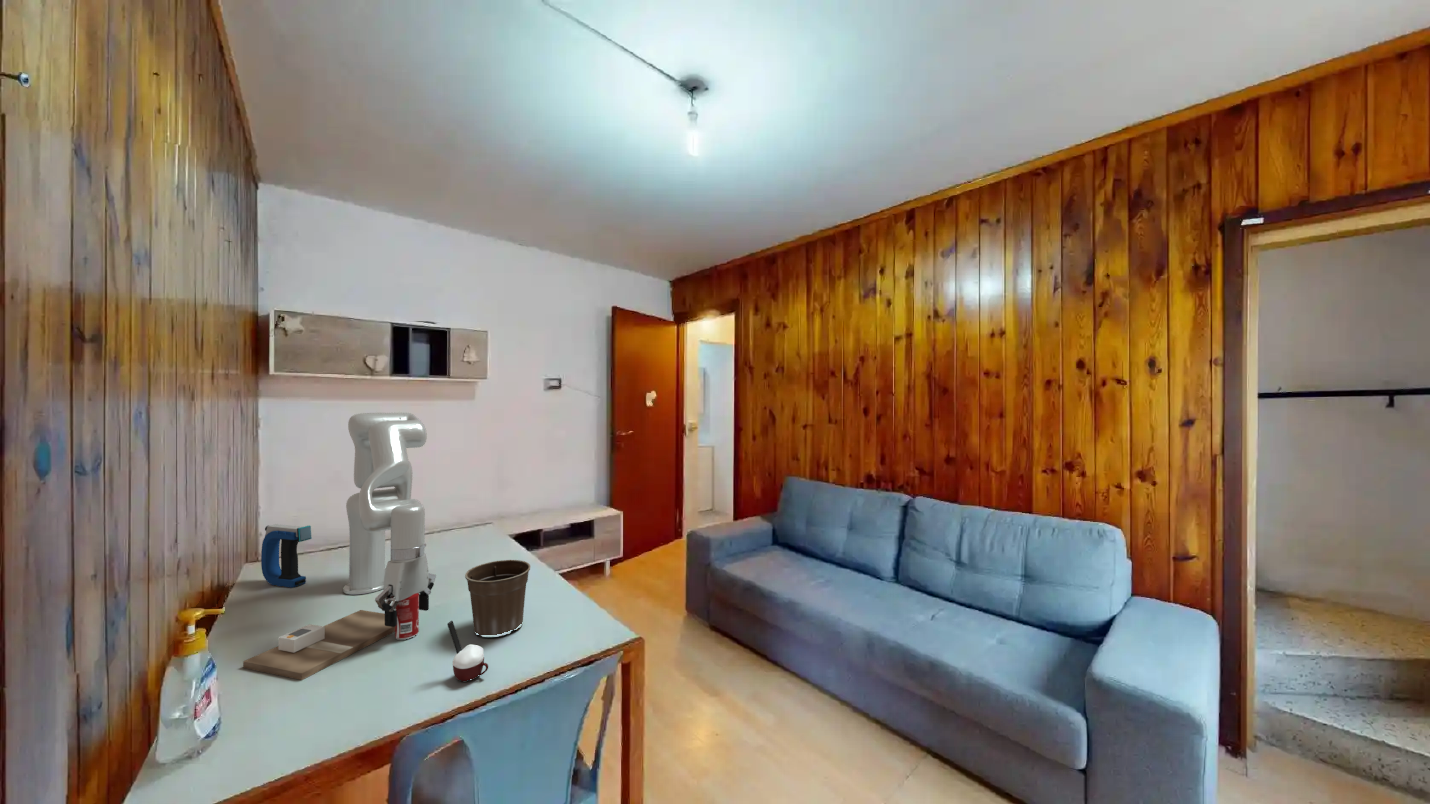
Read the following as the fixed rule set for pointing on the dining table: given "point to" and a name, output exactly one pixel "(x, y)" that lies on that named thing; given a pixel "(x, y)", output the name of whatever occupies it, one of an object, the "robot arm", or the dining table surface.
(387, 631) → the board
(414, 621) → the soda can
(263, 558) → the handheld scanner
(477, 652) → the cocoa
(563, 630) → the dining table surface
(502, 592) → the plant pot
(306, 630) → the block
